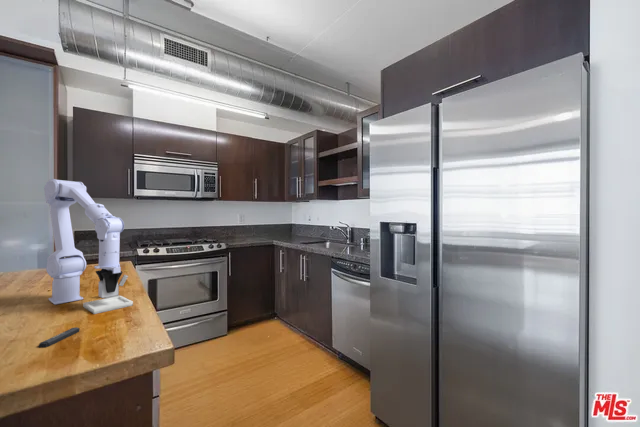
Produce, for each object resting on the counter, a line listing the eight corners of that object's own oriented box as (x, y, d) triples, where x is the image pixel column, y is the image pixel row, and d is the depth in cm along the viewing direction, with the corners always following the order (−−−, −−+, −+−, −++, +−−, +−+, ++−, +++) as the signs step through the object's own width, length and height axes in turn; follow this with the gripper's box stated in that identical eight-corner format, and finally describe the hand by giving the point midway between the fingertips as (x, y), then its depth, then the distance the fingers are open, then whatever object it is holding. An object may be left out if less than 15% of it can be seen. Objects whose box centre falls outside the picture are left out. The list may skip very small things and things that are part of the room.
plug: (98, 296, 96) (98, 278, 96) (113, 293, 99) (114, 276, 99) (102, 297, 94) (102, 280, 94) (117, 294, 97) (118, 277, 97)
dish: (83, 306, 95) (83, 302, 95) (120, 299, 104) (120, 295, 104) (94, 314, 89) (94, 309, 89) (132, 305, 98) (132, 301, 98)
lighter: (105, 298, 105) (105, 277, 105) (104, 297, 106) (105, 276, 106) (127, 295, 110) (128, 274, 110) (127, 294, 111) (127, 274, 111)
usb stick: (71, 332, 77) (71, 326, 77) (81, 332, 77) (81, 326, 77) (36, 348, 67) (36, 342, 67) (47, 349, 67) (47, 342, 67)
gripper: (88, 251, 98) (87, 289, 98) (102, 255, 89) (102, 297, 89) (112, 249, 103) (111, 285, 103) (127, 253, 95) (127, 292, 95)
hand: (108, 291), depth 97 cm, fingers closed on plug, 3 cm apart
